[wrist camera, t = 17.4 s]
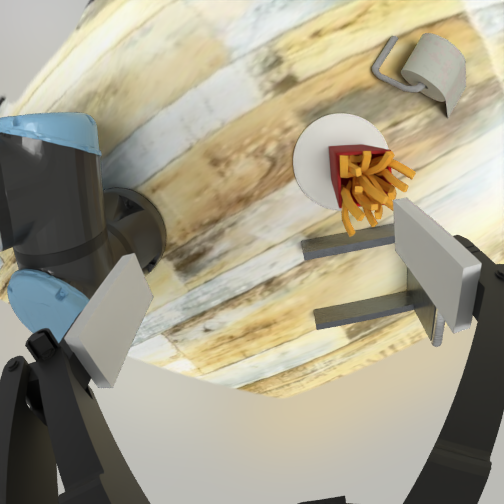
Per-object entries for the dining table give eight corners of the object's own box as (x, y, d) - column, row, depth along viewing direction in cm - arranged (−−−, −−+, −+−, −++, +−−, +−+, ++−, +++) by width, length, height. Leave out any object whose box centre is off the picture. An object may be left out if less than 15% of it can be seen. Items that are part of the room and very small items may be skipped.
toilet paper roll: (441, 131, 39) (435, 102, 30) (383, 96, 44) (361, 63, 34) (469, 80, 35) (468, 41, 25) (412, 49, 40) (395, 8, 30)
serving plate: (303, 216, 47) (303, 218, 47) (283, 122, 41) (283, 123, 41) (393, 200, 45) (394, 201, 44) (380, 107, 39) (382, 107, 38)
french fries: (320, 139, 41) (343, 160, 28) (378, 136, 40) (424, 156, 27) (325, 200, 45) (346, 247, 32) (380, 196, 44) (420, 239, 31)
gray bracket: (314, 315, 55) (322, 372, 43) (301, 241, 49) (309, 290, 37) (414, 294, 52) (443, 345, 40) (414, 219, 46) (453, 260, 34)
